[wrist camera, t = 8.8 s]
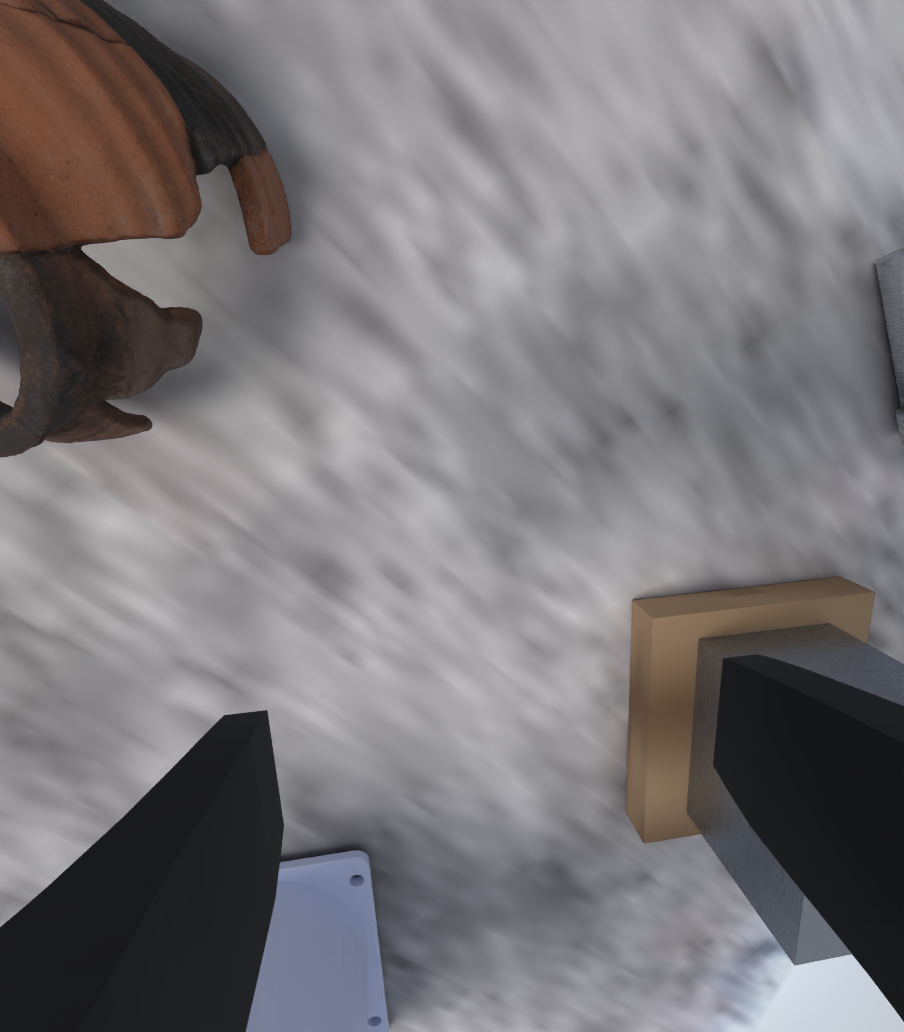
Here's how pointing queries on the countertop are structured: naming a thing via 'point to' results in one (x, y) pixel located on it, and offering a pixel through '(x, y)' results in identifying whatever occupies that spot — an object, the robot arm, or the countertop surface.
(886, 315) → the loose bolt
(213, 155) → the brown irregular piece
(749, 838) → the block
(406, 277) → the countertop surface
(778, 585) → the stand
